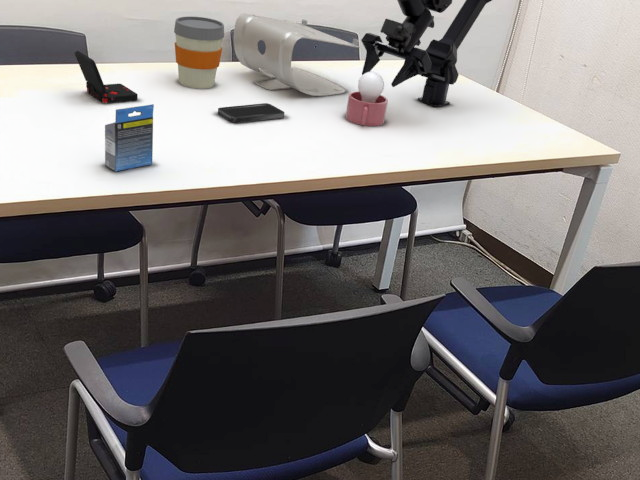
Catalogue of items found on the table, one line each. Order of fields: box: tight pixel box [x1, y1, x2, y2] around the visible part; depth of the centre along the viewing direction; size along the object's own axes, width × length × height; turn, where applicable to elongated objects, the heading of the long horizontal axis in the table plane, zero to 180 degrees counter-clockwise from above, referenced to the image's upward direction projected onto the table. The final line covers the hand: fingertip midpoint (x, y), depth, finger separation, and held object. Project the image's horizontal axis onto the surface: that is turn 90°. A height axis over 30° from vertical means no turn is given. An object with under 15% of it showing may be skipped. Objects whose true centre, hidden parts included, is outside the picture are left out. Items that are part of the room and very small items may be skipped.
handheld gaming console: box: [74, 50, 138, 104], centre depth 206 cm, size 9×12×10 cm
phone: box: [217, 102, 285, 124], centre depth 209 cm, size 8×1×15 cm
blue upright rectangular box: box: [104, 103, 155, 173], centre depth 171 cm, size 9×4×12 cm, turn 133°
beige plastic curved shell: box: [233, 13, 360, 97], centre depth 233 cm, size 26×24×16 cm
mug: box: [345, 90, 389, 127], centre depth 215 cm, size 13×10×6 cm
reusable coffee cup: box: [173, 16, 225, 90], centre depth 222 cm, size 12×13×15 cm
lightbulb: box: [357, 70, 385, 103], centre depth 215 cm, size 6×6×11 cm
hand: (377, 80), depth 214 cm, fingers open, 9 cm apart
